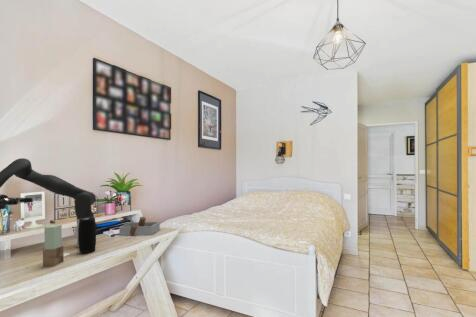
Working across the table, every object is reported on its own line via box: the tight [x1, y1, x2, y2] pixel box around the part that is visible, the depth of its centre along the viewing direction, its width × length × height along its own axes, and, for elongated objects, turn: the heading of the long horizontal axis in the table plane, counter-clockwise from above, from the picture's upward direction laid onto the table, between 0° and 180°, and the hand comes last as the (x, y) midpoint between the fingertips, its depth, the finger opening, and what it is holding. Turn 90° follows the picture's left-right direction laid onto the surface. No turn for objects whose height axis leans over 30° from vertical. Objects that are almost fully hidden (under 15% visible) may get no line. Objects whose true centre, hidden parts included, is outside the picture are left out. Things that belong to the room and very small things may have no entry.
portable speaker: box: [78, 216, 97, 255], centre depth 146 cm, size 9×9×20 cm
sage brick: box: [43, 224, 63, 250], centre depth 129 cm, size 5×5×11 cm
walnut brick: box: [42, 245, 65, 267], centre depth 128 cm, size 6×6×8 cm
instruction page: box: [40, 252, 72, 260], centre depth 139 cm, size 8×11×1 cm
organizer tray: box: [118, 221, 161, 237], centre depth 188 cm, size 16×24×6 cm, turn 88°
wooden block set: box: [130, 216, 150, 236], centre depth 187 cm, size 18×9×10 cm, turn 153°
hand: (24, 201), depth 130 cm, fingers open, 8 cm apart
